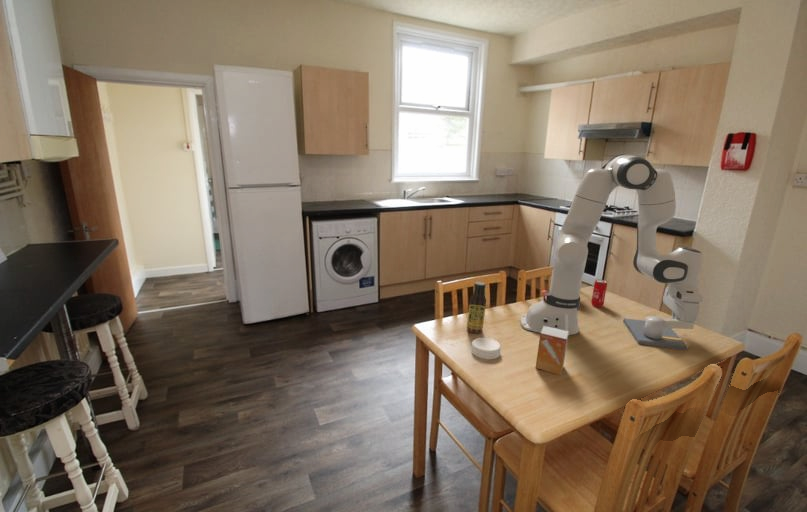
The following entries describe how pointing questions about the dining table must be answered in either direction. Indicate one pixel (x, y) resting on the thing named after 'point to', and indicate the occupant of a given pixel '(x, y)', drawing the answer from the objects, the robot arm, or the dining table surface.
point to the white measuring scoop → (663, 326)
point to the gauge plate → (667, 340)
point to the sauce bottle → (477, 309)
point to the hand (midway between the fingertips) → (675, 323)
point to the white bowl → (486, 348)
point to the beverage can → (599, 293)
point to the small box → (552, 349)
